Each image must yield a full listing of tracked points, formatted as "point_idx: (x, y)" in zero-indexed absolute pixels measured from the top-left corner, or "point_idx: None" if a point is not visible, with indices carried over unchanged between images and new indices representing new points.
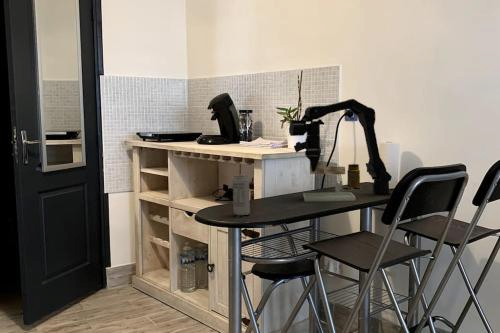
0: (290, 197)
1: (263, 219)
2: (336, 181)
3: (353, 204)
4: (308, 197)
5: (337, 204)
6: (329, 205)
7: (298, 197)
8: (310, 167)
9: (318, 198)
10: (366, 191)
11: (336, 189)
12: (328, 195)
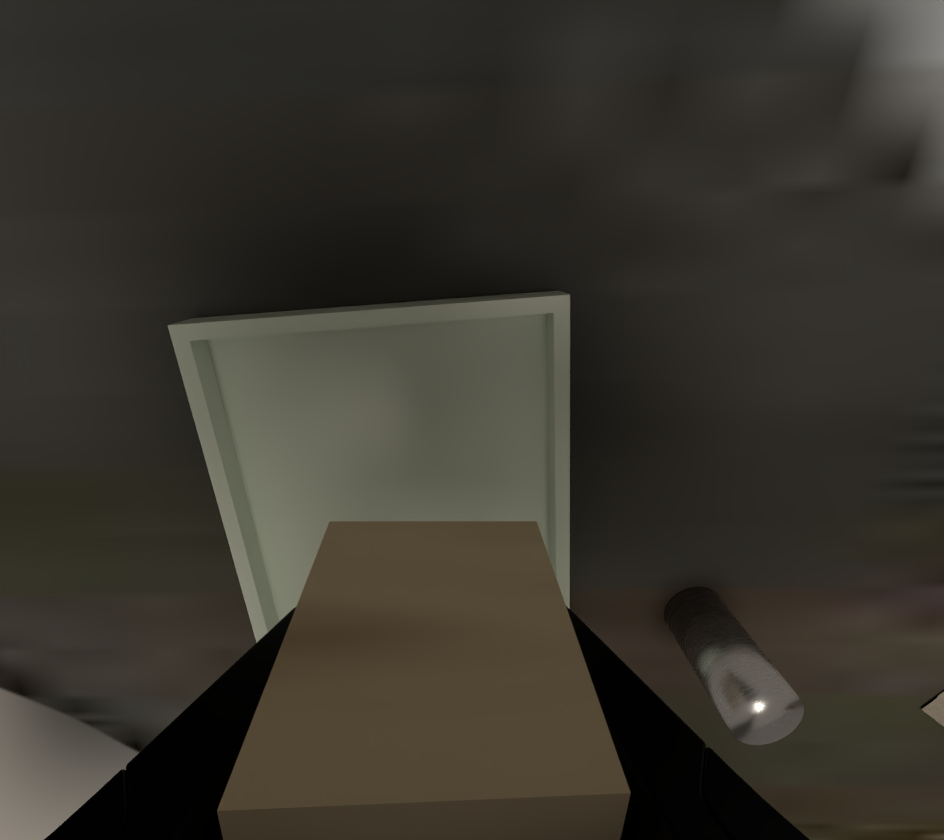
0: (568, 120)
1: None
2: (759, 700)
3: (122, 707)
4: (432, 354)
5: (98, 606)
6: (26, 549)
7: (554, 230)
8: (284, 644)
9: (213, 469)
10: (789, 778)
11: (700, 629)
12: (549, 542)
